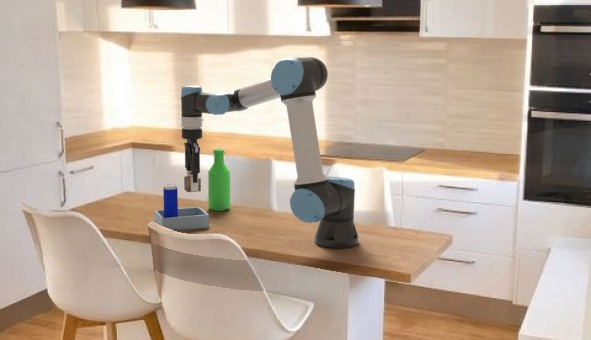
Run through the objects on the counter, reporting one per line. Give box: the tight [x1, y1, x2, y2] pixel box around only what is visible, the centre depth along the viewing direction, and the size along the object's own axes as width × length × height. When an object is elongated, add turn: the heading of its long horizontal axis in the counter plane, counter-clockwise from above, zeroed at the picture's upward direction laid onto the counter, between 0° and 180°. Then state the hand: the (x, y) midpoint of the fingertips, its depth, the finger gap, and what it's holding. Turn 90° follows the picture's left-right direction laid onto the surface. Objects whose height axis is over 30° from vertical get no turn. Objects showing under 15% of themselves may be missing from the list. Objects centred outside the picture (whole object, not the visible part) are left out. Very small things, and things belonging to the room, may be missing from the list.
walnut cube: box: [183, 175, 202, 193], centre depth 280 cm, size 5×5×5 cm
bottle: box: [207, 148, 231, 212], centre depth 306 cm, size 9×9×25 cm
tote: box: [153, 206, 210, 232], centre depth 281 cm, size 14×18×5 cm
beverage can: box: [162, 183, 179, 218], centre depth 278 cm, size 5×5×15 cm
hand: (192, 189), depth 280 cm, fingers closed on walnut cube, 5 cm apart
